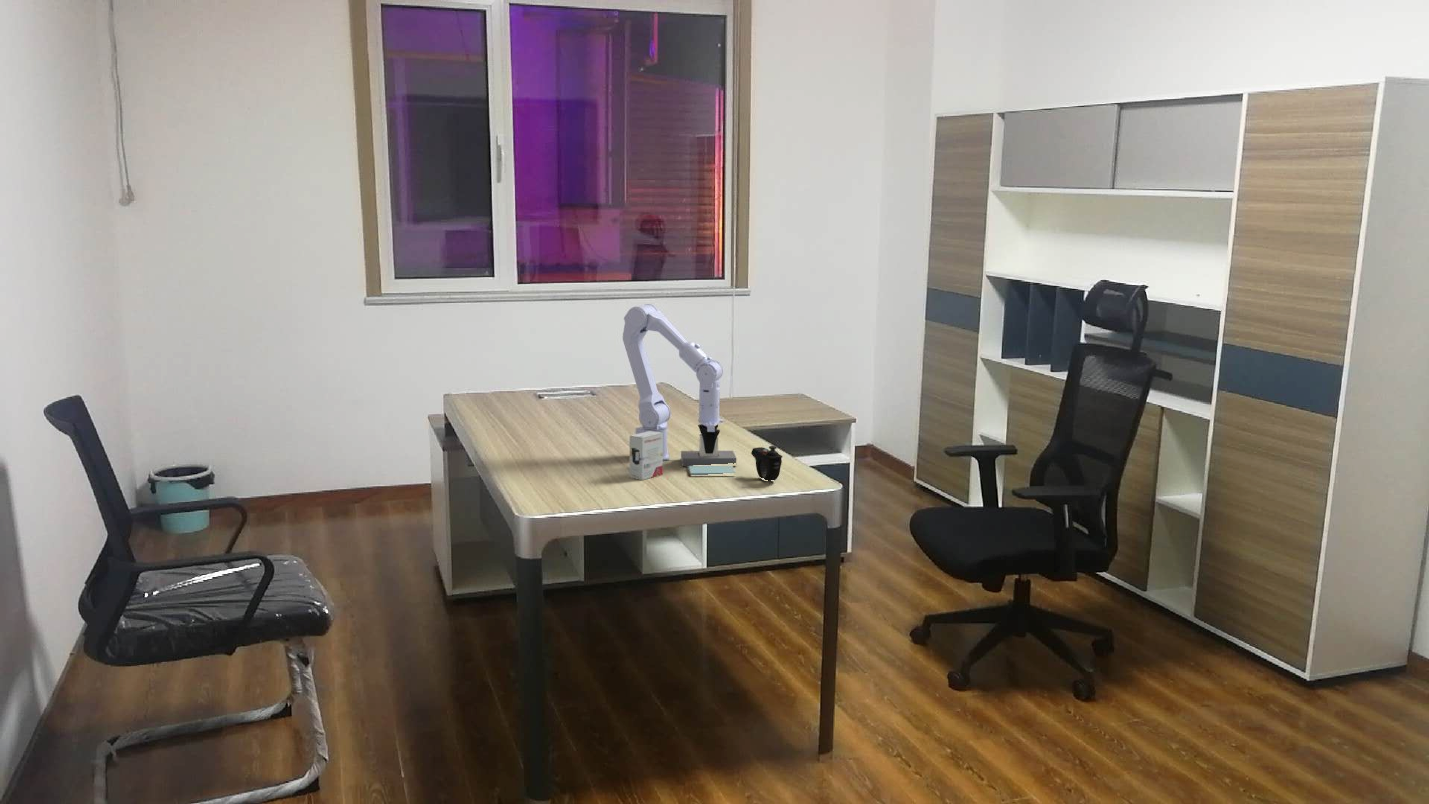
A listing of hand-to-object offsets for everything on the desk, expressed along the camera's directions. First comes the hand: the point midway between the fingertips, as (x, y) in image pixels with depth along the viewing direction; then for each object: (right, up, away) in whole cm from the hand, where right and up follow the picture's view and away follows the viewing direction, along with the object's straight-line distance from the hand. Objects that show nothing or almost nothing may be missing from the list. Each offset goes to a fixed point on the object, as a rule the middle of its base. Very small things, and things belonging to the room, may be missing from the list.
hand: (708, 451), depth 311 cm
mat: (+1, -5, -10) cm, 12 cm away
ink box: (-17, -6, -15) cm, 23 cm away
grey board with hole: (0, -3, +1) cm, 3 cm away
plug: (0, -3, +1) cm, 3 cm away
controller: (+16, -7, -17) cm, 24 cm away
